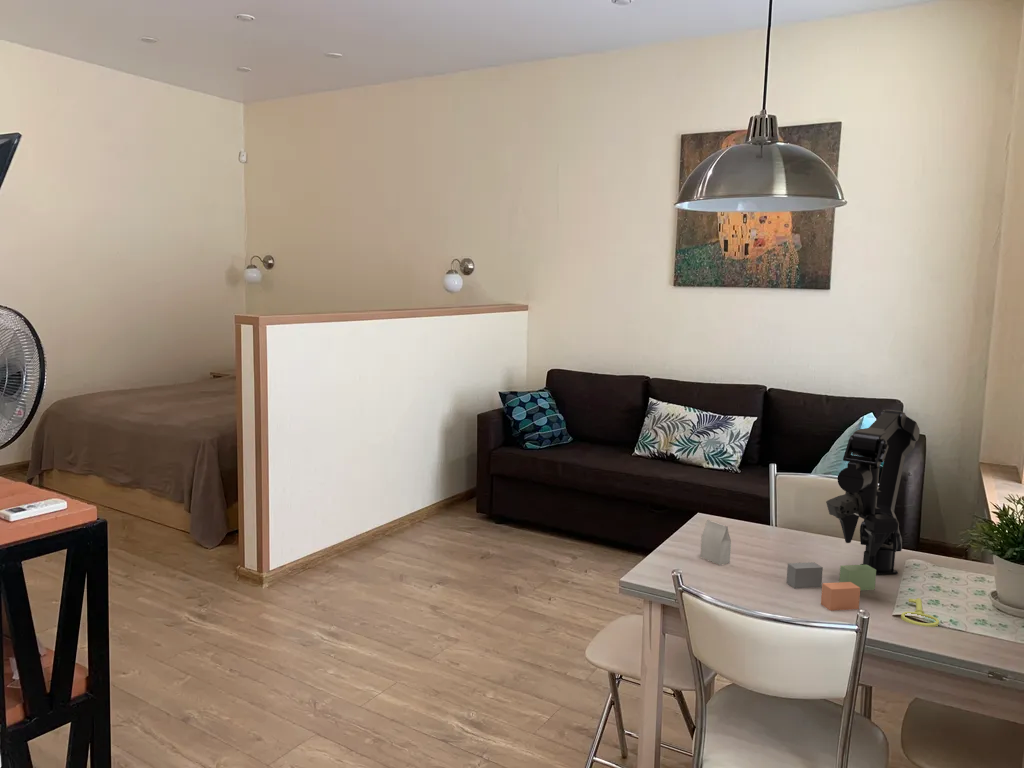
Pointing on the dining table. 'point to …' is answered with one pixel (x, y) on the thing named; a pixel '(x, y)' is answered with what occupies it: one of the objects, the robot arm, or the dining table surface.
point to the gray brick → (804, 575)
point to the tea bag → (716, 543)
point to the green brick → (859, 576)
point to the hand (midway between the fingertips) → (859, 549)
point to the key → (919, 612)
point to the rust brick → (840, 596)
